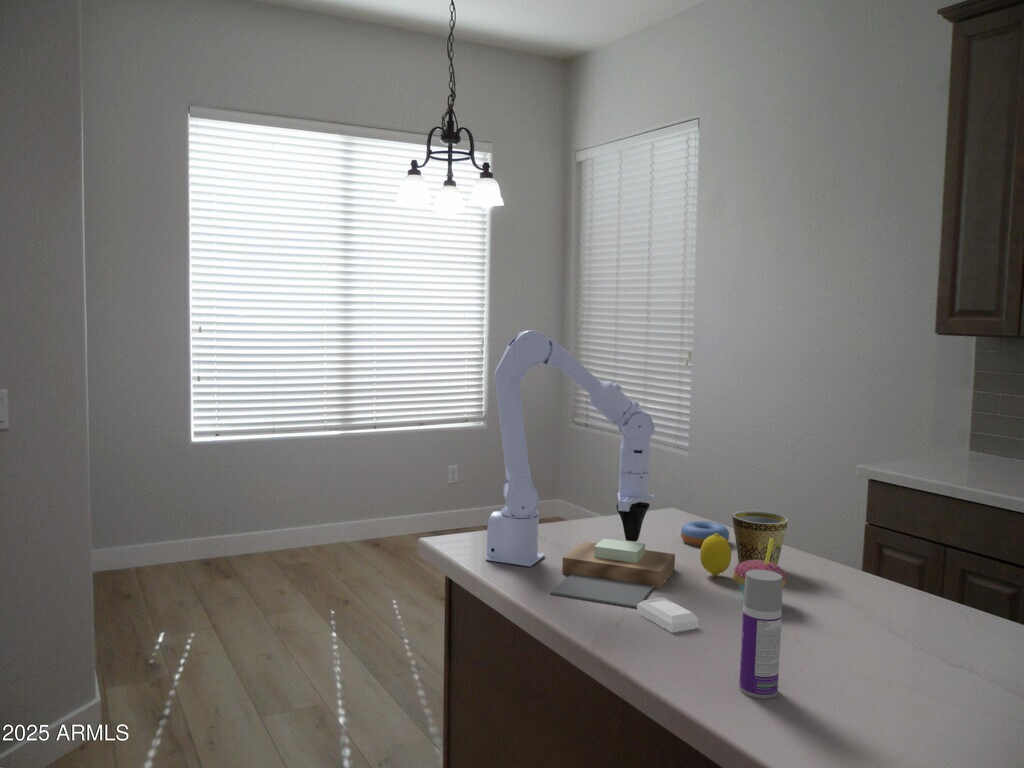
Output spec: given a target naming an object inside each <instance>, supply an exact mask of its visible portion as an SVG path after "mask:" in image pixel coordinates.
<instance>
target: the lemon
mask: <svg viewBox="0 0 1024 768" xmlns="http://www.w3.org/2000/svg"><path fill="white" fill-rule="evenodd" d="M699 558H700V563H701V566H702V567H703V569H705V570H706V571H707V572H709V573H710V574H711V576H712V577H717V576H718V575H719V574H722V573H724V572H726V571H727V569H729V567H730V565H731V561H732V549H731V545H730V543H729V540H728V541H727V540H726V539H725V538H723V537H722V536H720V535H719V534H717V533H715V534H714V535H712V536H709V537H707V538H706V539H705V540H704V542H703V543H702V546H701V547H700V552H699Z"/></svg>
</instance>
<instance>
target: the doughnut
mask: <svg viewBox="0 0 1024 768" xmlns="http://www.w3.org/2000/svg"><path fill="white" fill-rule="evenodd" d="M715 533H717V534H719V535H720V536H722V537H723V538H725V539H726V540H727V541H728V542H729V540H730V531H729V529H728V528H727V527H726V526H725V525H723V524H720V523H719V522H714V521H706V520H705V521H704V520H694V521H689V522H686V523H685V524H684V525H683V526H682V527H681V530H680V537H681V538H682V540H683V541H684V542H685V543H686V544H687V545H690V544H691V546H693V545H694V546H693V547H697V548H698V547H699V548H701V546H702V543H703V542H704V540H705V539H706V538H707V537H709V536H712V535H714V534H715Z"/></svg>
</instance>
